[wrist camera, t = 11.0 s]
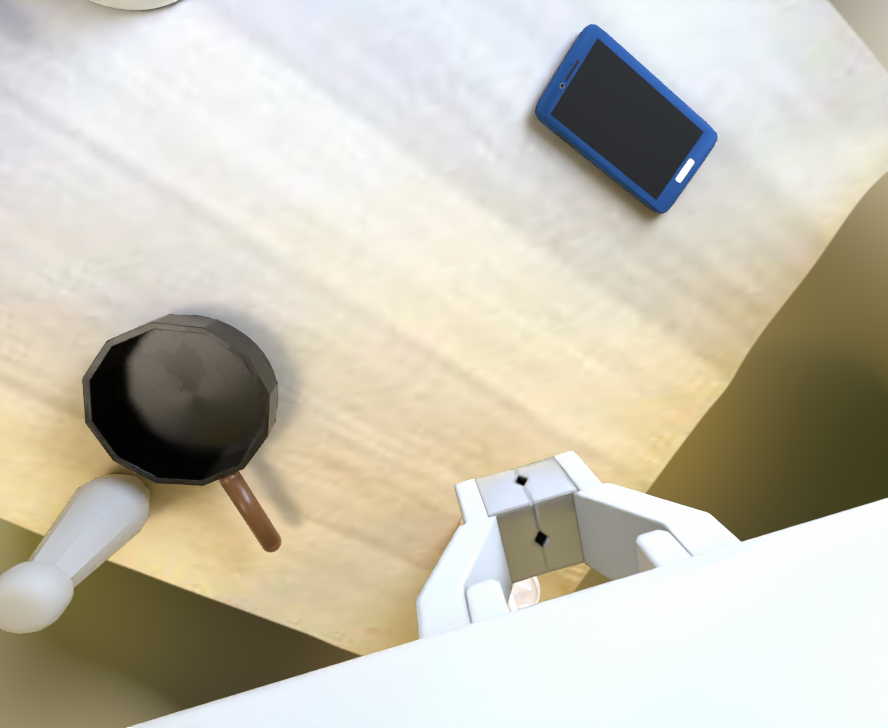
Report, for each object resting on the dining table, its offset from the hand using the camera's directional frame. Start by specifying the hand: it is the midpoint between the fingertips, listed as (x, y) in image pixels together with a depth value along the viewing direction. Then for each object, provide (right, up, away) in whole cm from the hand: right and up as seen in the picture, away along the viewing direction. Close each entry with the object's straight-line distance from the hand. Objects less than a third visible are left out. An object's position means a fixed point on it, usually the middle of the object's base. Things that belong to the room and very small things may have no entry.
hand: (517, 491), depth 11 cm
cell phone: (+13, +22, +26) cm, 36 cm away
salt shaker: (-29, -8, +29) cm, 42 cm away
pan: (-21, -3, +29) cm, 36 cm away
